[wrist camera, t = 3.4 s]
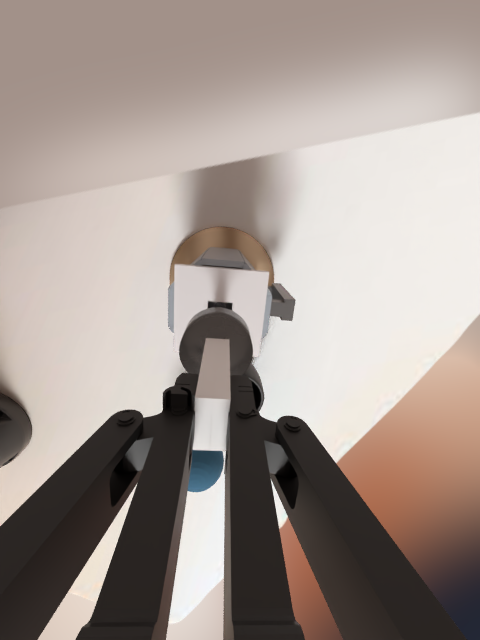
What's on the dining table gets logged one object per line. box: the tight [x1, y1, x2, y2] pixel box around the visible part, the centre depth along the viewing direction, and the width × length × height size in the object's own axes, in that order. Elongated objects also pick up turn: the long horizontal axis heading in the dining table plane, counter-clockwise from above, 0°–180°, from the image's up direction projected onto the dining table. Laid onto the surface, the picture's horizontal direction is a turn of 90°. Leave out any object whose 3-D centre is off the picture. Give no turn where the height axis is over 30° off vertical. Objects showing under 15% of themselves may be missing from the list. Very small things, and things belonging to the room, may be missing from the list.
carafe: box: [168, 247, 295, 357], centre depth 35 cm, size 13×10×17 cm
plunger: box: [179, 301, 253, 376], centre depth 25 cm, size 8×8×12 cm
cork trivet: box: [170, 227, 274, 286], centre depth 43 cm, size 16×16×1 cm
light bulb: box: [187, 449, 224, 492], centre depth 47 cm, size 8×8×12 cm
